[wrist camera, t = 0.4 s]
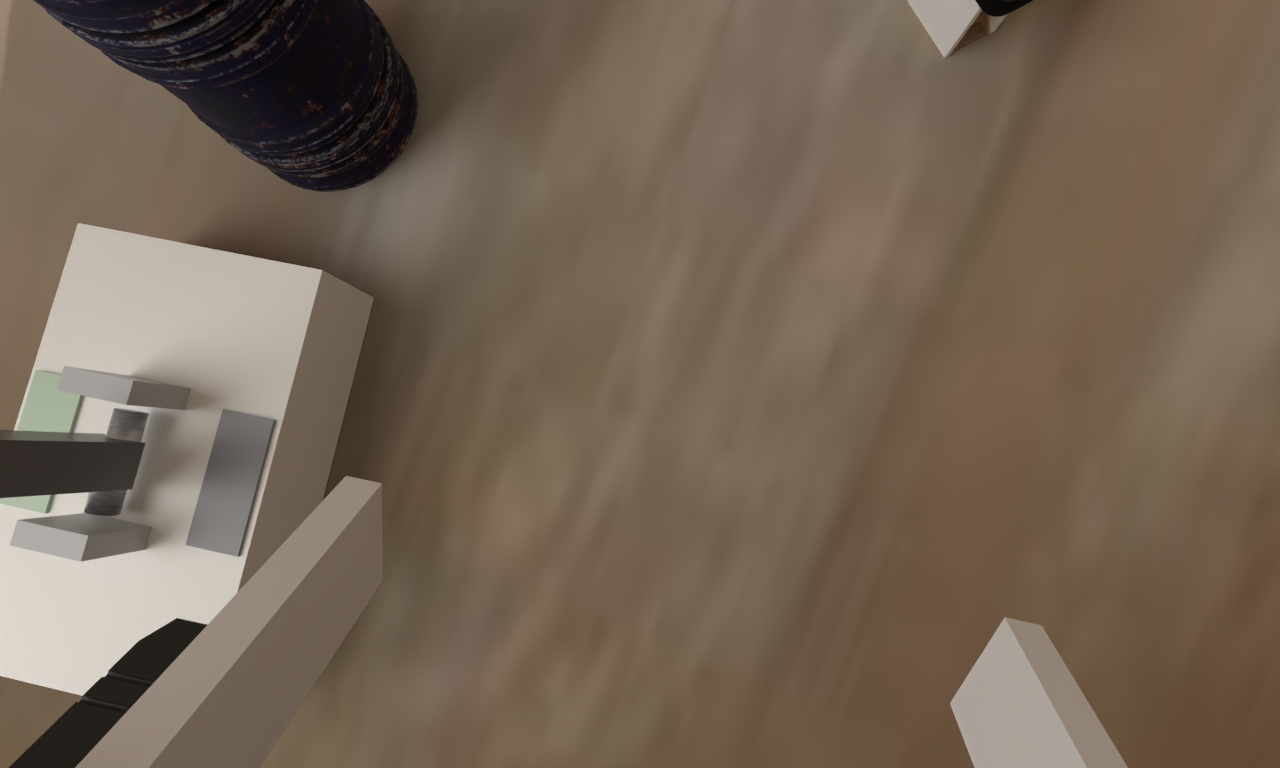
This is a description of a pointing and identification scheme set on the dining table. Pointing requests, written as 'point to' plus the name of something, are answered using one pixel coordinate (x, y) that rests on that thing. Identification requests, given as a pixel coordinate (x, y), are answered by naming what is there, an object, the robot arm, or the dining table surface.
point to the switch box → (171, 442)
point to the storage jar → (269, 77)
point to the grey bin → (961, 19)
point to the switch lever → (75, 462)
